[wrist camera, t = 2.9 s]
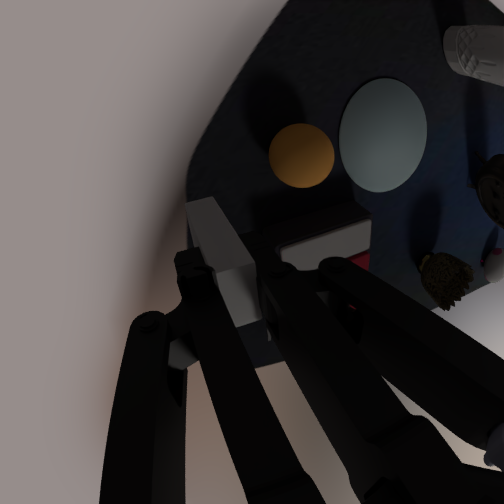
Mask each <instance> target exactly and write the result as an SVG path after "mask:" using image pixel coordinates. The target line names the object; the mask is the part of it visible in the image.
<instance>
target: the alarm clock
mask: <svg viewBox="0 0 504 504" xmlns="http://www.w3.org/2000/svg"><path fill="white" fill-rule="evenodd" d="M475 154H476V155H477V156H478V158H479V159H480V161H481V162H482V163H483V166H482V167H481V168H480V169H479V170H478V172H477V174H476V179H475V185H474V184H468V185H467V186H468V187H471V188H474V189H476V192H477V196H478V199H479V201H480V203H481V205H482V207H483V209H484V210H485V212H486V213H487V215H488V216H489V217H490V218H491V219H492V220H493V221H494V222H495V223H496V224H497V225H498V226H500V227H501V228H503V229H504V154H498V155H495V156H493V157H492V158H491V159H490V160H489V161H486V160H485V159H484V158H483V157H482V156H481V155H480V154H479V153H478V151H475Z"/></svg>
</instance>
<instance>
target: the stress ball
mask: <svg viewBox="0 0 504 504" xmlns="http://www.w3.org/2000/svg"><path fill="white" fill-rule="evenodd" d="M481 262H484V261H483V260H482V259H481ZM483 270H484V276H485V278H486V279H487V280H488V281H489V282H491V283H495V282H498V281H500V280H501V279H502V278H503V277H504V249H502V248H495V249H493V250H492V251H491V252H490V253H489V254H488V255H487V257H486V259H485V262H484V268H483Z"/></svg>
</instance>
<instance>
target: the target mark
mask: <svg viewBox="0 0 504 504" xmlns="http://www.w3.org/2000/svg"><path fill="white" fill-rule="evenodd" d="M426 137H427V124H426V117H425V113H424V110H423V107H422V104H421V102H420V100H419V99H418V97H417V96H416V94H415V93H414V92H413V91H412V90H411V89H410V88H409V87H408V86H407V85H405V84H404V83H402V82H400V81H398V80H394V79H387V78H383V79H377V80H373V81H371V82H369V83H367V84H365V85H364V86H362V87H361V88H360V89H359V90H358V91H357V92H356V93H355V94H354V95H353V96H352V98H351V99H350V101H349V102H348V104H347V106H346V108H345V110H344V113H343V116H342V119H341V123H340V128H339V151H340V156H341V160H342V163H343V166H344V168H345V170H346V172H347V173H348V175H349V176H350V178H351V179H352V180H353V181H354V182H355V183H356V184H358V185H359V186H360V187H362V188H364V189H366V190H369V191H372V192H385V191H389V190H392V189H394V188H396V187H398V186H399V185H401V184H402V183H404V182H405V181H406V180H407V179H408V178H409V177H410V176H411V175H412V173H413V172H414V171H415V169H416V168H417V166H418V164H419V162H420V160H421V158H422V155H423V152H424V148H425V144H426Z"/></svg>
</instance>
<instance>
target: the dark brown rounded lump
mask: <svg viewBox="0 0 504 504" xmlns="http://www.w3.org/2000/svg"><path fill="white" fill-rule="evenodd" d="M470 267H472V266H470V265H468V264H467V263H465V262H463V261H462V260H460V259H458V258H456V257H454V256H452V255H450V254H447V253H436V254H434V253H432V252H426V253H424V254H423V255H422V256H421V257H420V258H419V260H418V263H417V270H418V272H419V273H420V274H421V282H422V285H423V287H424V289H425V290H426V291H427V293H428V294H429V295H430V297H431V298H432V299H433V300H434V301H435V302H436V304H437V305H438V306H439V307H440V308H442V309H443V310H444V311H445V309H446V310H447V311H449V310H450V306H451V305H452V306H454V307H455V302H454V300H455V301H461V296H465V291H464V289H463V288H466V289H469V285H468V284H467V283H468V282H472V281H473V280H474V278H473V274H474V273H475V271H474V270H473V269H471V268H470Z"/></svg>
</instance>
